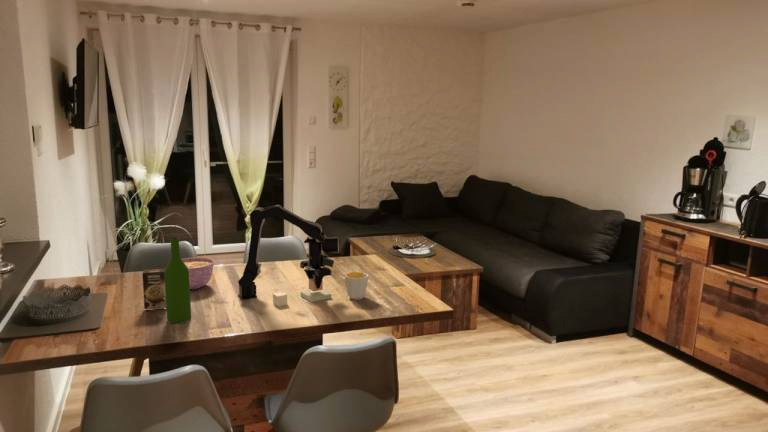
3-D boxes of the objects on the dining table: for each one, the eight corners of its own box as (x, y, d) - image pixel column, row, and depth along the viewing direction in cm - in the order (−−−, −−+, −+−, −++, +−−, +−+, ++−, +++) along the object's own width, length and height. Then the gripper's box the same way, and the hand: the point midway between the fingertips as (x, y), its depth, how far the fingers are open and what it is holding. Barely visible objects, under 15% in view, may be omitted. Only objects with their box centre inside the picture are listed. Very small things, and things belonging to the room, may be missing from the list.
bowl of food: (221, 281, 280) (220, 258, 278) (205, 294, 261) (203, 269, 259) (181, 280, 282) (180, 256, 280) (162, 292, 263) (160, 267, 261)
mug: (371, 300, 255) (371, 276, 253) (349, 302, 251) (349, 279, 249) (361, 291, 267) (361, 268, 266) (339, 293, 264) (339, 271, 262)
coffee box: (144, 311, 239) (141, 273, 236) (146, 306, 245) (143, 268, 242) (167, 309, 241) (165, 271, 238) (169, 304, 247) (166, 267, 244)
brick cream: (277, 306, 246) (277, 296, 245) (273, 303, 250) (272, 293, 249) (287, 304, 248) (287, 294, 248) (282, 301, 252) (282, 291, 251)
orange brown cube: (313, 291, 255) (313, 281, 254) (308, 288, 258) (308, 278, 258) (322, 289, 257) (322, 279, 256) (317, 287, 261) (317, 277, 260)
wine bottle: (183, 314, 236) (178, 235, 230) (195, 319, 230) (191, 238, 224) (162, 320, 229) (157, 238, 223) (175, 325, 223) (170, 242, 217)
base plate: (310, 302, 252) (310, 297, 251) (300, 296, 260) (300, 291, 259) (331, 298, 257) (331, 293, 257) (320, 292, 265) (320, 288, 265)
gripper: (342, 254, 252) (342, 289, 254) (321, 246, 267) (321, 279, 270) (319, 258, 245) (319, 293, 248) (299, 249, 261) (299, 282, 263)
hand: (315, 287), depth 258 cm, fingers closed on orange brown cube, 4 cm apart
